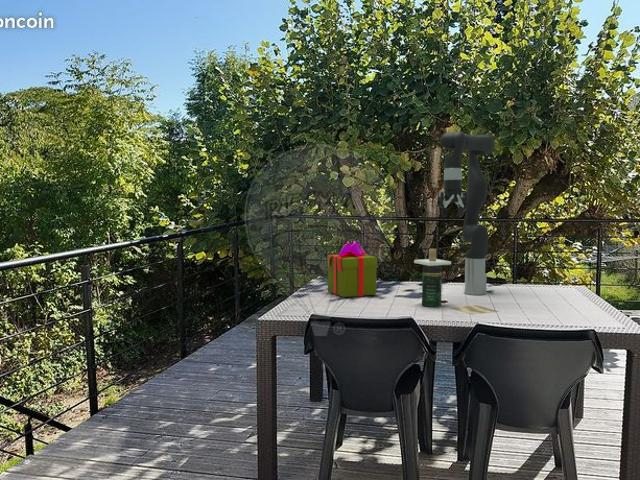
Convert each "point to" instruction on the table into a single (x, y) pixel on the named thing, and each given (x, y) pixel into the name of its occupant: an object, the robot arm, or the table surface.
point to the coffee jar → (431, 286)
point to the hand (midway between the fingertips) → (452, 216)
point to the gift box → (352, 272)
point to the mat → (474, 309)
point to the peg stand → (432, 260)
